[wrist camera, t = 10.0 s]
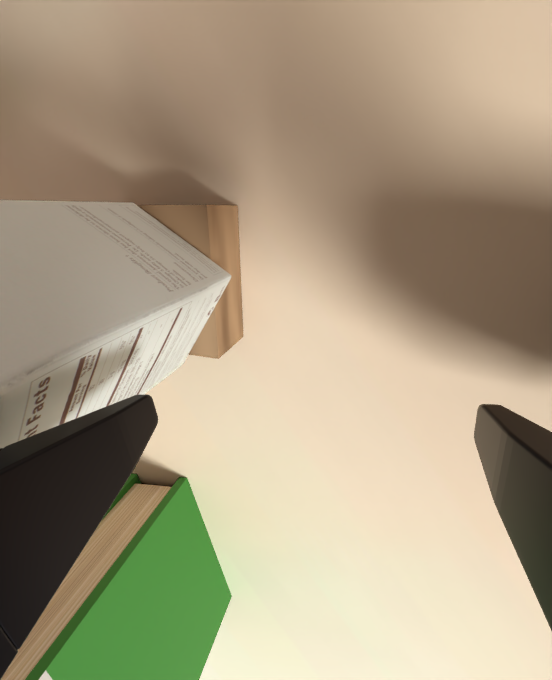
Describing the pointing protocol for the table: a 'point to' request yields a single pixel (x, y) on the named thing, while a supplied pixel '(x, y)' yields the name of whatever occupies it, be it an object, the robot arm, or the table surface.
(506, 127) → the table surface
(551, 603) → the robot arm
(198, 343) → the stand block
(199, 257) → the supplement box
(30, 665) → the hardback book
